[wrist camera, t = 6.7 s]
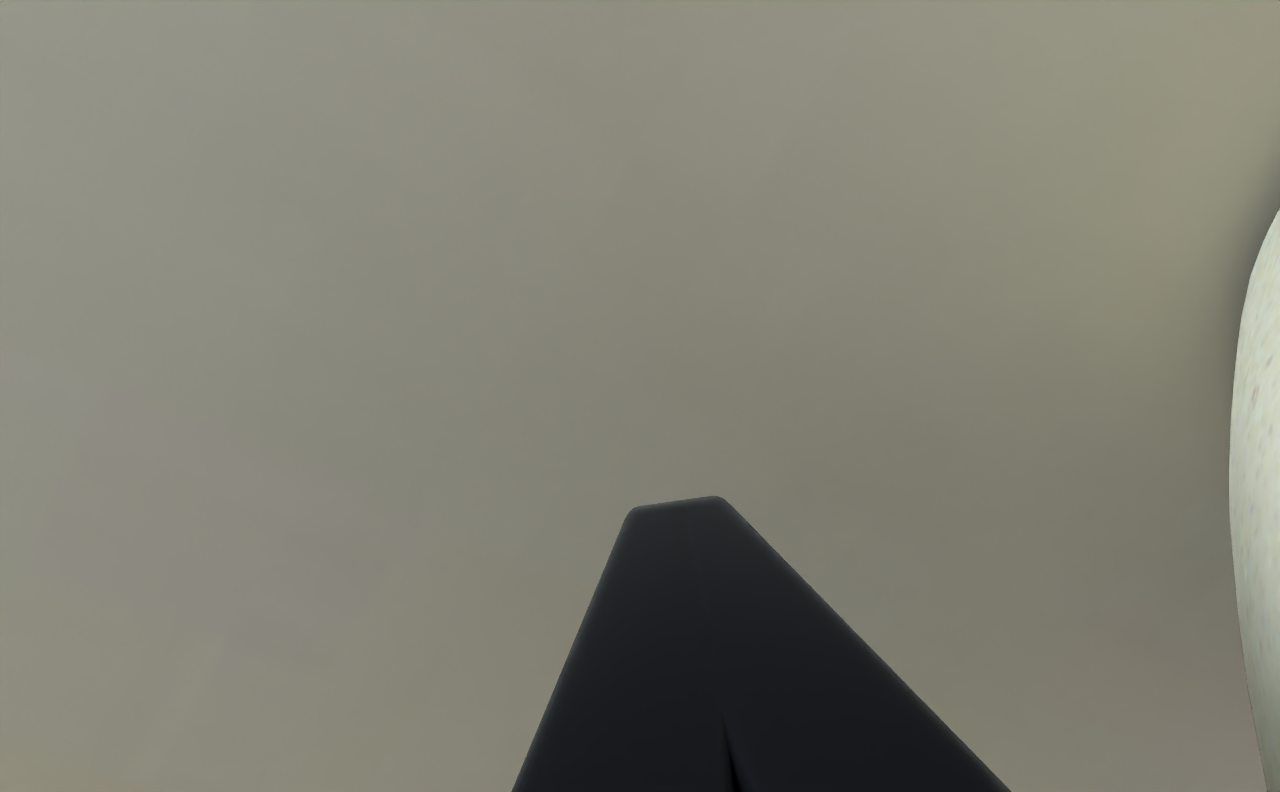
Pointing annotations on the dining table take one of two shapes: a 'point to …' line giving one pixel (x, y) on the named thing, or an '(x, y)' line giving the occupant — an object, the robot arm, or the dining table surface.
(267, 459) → the dining table surface
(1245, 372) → the flower pot
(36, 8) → the dining table surface
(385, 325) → the dining table surface
